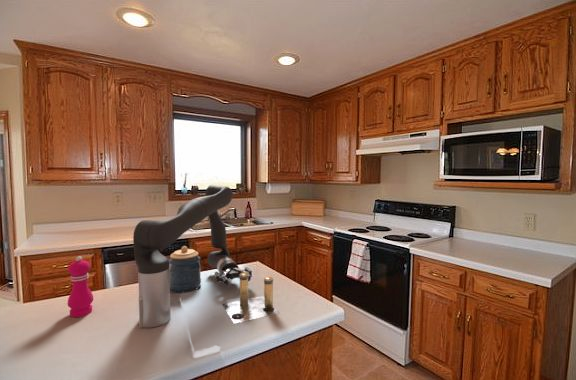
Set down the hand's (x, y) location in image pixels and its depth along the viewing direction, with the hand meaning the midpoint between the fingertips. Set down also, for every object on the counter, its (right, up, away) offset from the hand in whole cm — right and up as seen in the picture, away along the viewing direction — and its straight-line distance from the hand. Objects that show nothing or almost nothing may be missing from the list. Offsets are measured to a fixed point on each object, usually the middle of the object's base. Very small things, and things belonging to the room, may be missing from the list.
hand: (238, 280), depth 108 cm
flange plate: (+6, -8, -9) cm, 13 cm away
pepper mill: (-53, -8, -10) cm, 54 cm away
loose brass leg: (+3, -7, -6) cm, 9 cm away
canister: (-25, -7, +13) cm, 29 cm away
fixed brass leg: (+12, -7, -10) cm, 17 cm away
